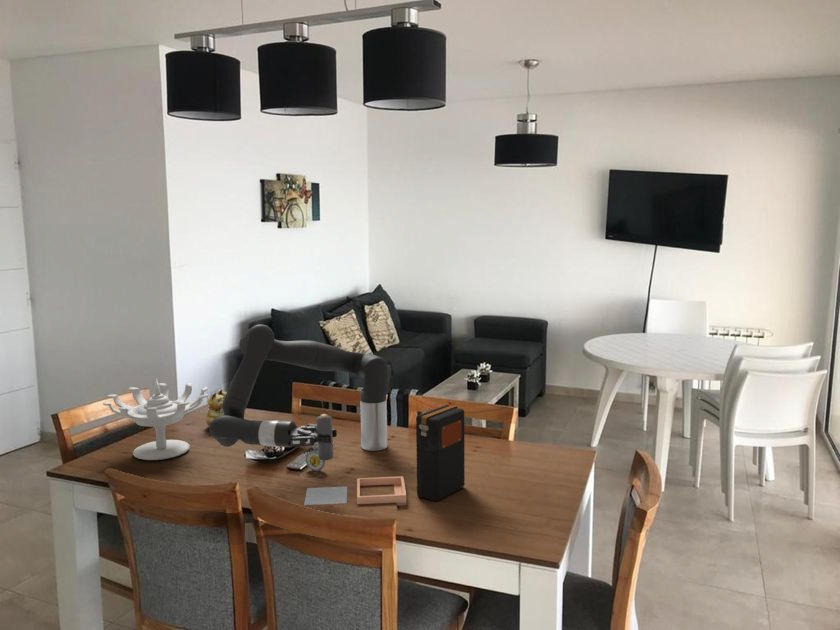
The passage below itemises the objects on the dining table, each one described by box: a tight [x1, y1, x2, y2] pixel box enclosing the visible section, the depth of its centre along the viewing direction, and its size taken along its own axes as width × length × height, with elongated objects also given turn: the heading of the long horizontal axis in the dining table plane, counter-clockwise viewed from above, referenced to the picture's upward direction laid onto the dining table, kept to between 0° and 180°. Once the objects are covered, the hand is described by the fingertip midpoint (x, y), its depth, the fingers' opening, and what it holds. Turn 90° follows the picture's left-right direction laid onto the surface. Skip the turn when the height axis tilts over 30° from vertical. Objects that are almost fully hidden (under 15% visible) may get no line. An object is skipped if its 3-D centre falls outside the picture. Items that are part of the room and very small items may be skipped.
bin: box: [356, 475, 407, 506], centre depth 200 cm, size 14×14×3 cm
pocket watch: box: [299, 443, 326, 480], centre depth 216 cm, size 8×8×10 cm
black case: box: [415, 404, 466, 502], centre depth 201 cm, size 16×9×25 cm, turn 141°
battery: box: [315, 413, 334, 461], centre depth 196 cm, size 4×4×13 cm
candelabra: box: [102, 377, 209, 461], centre depth 237 cm, size 34×35×27 cm
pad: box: [303, 486, 348, 506], centre depth 199 cm, size 12×12×1 cm
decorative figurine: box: [205, 389, 227, 427], centre depth 266 cm, size 10×8×15 cm
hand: (333, 436), depth 196 cm, fingers closed on battery, 4 cm apart
